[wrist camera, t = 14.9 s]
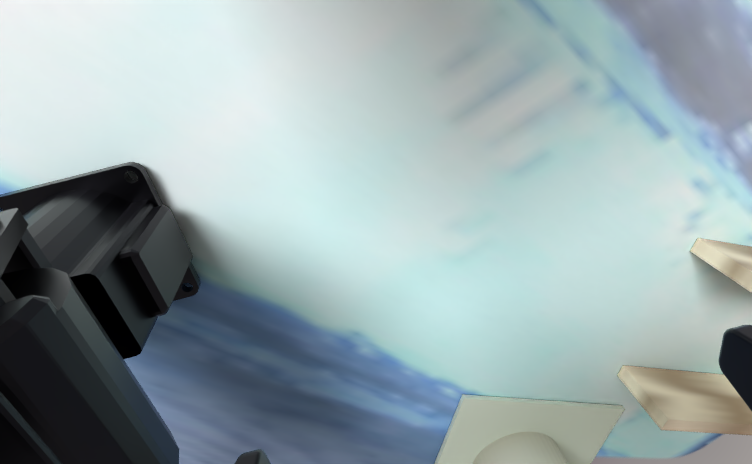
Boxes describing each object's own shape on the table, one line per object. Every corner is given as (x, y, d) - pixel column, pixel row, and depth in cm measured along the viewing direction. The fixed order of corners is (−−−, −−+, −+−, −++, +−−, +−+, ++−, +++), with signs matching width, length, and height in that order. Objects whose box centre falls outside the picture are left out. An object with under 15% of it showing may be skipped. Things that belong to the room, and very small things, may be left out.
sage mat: (415, 510, 32) (416, 514, 32) (462, 394, 27) (463, 398, 27) (556, 512, 34) (558, 516, 34) (622, 405, 29) (624, 409, 29)
